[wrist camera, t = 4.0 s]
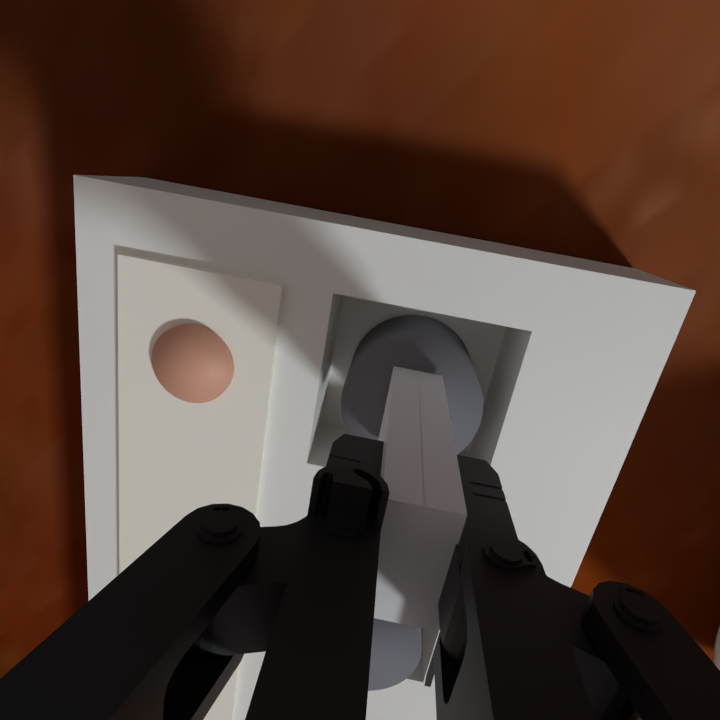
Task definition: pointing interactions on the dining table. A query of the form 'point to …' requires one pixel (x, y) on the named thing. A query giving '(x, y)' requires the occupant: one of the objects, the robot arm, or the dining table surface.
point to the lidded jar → (717, 650)
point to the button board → (336, 370)
